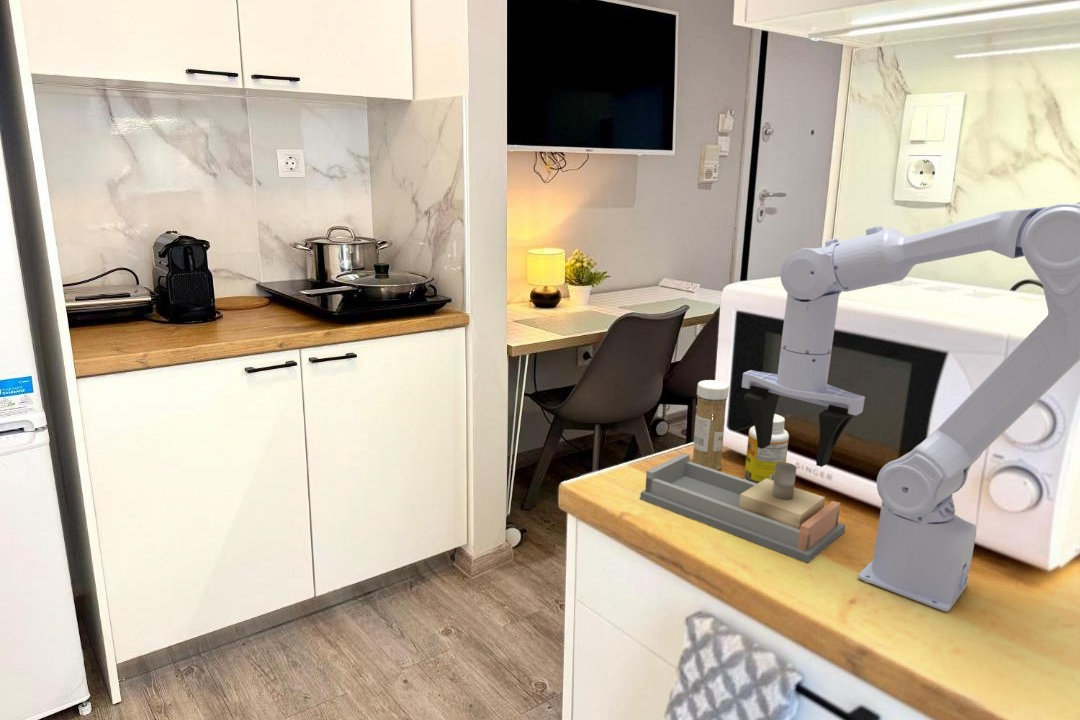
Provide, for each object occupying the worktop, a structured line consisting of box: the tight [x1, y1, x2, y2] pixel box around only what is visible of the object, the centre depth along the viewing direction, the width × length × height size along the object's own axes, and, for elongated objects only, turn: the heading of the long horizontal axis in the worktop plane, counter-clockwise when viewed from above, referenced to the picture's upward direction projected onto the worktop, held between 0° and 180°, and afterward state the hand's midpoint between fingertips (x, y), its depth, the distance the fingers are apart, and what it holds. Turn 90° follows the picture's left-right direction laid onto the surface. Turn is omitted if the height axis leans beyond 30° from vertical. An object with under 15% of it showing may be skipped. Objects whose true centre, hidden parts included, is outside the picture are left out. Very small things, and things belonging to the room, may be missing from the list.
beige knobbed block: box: [739, 462, 826, 530], centre depth 95 cm, size 8×7×8 cm
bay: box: [639, 452, 846, 564], centre depth 100 cm, size 24×11×4 cm, turn 47°
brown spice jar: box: [691, 379, 730, 471], centre depth 114 cm, size 5×5×14 cm
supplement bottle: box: [744, 413, 790, 484], centre depth 109 cm, size 6×6×10 cm
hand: (792, 454), depth 94 cm, fingers open, 7 cm apart
